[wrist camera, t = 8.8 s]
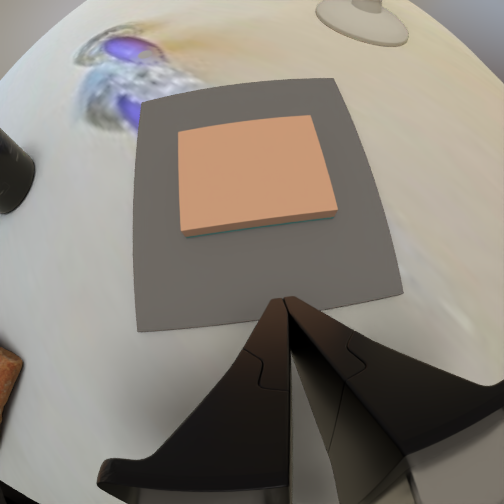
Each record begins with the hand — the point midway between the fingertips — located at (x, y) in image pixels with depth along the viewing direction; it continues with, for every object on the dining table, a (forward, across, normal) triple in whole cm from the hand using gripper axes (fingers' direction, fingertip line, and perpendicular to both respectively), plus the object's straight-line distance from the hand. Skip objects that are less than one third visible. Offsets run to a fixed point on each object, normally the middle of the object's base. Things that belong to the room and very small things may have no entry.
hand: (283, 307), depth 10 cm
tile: (+10, 0, -1) cm, 10 cm away
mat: (+13, 0, +1) cm, 13 cm away
